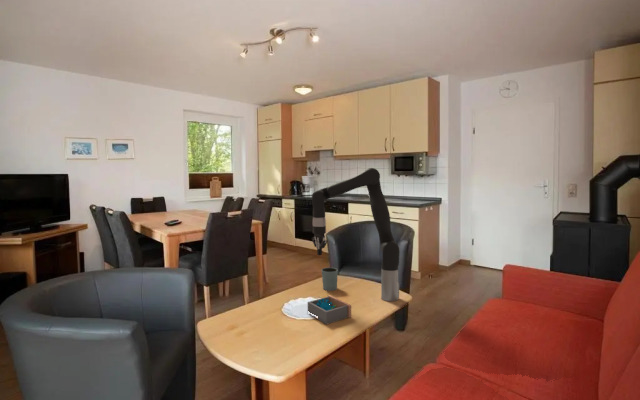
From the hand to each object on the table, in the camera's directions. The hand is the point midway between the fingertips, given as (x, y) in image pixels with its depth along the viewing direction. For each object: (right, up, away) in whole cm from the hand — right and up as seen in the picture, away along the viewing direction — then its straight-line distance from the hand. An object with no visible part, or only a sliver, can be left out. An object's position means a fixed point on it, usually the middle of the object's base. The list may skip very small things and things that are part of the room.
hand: (319, 254), depth 199 cm
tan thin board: (+10, -26, -20) cm, 35 cm away
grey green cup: (+6, -24, +16) cm, 29 cm away
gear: (+3, -27, -24) cm, 36 cm away
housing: (+4, -27, -24) cm, 36 cm away
